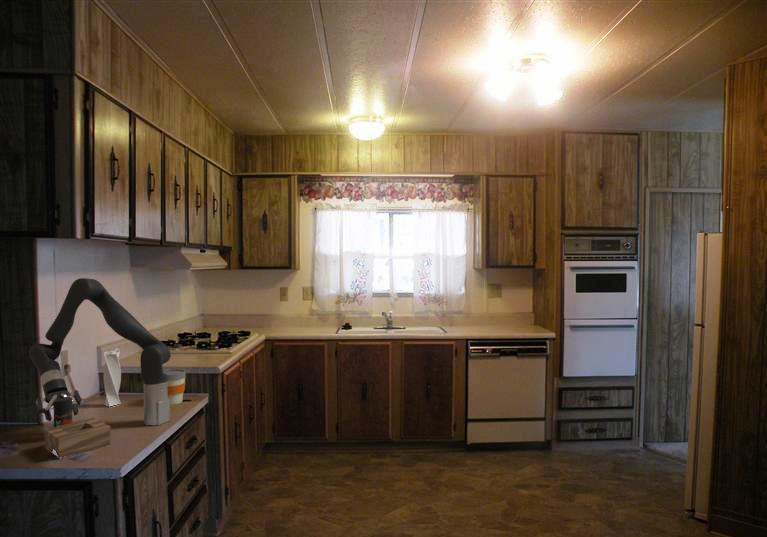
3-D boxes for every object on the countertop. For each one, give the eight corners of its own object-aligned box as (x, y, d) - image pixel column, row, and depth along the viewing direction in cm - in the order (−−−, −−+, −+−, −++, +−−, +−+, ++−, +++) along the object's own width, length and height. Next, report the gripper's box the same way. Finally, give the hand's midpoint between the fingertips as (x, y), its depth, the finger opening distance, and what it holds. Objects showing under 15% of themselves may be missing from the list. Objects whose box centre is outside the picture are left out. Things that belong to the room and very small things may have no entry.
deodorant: (51, 441, 169) (51, 402, 170) (56, 435, 175) (56, 398, 175) (70, 438, 172) (70, 400, 172) (74, 433, 177) (73, 396, 177)
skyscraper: (125, 404, 217) (124, 347, 217) (109, 408, 210) (108, 350, 210) (116, 402, 221) (115, 346, 221) (100, 406, 214) (99, 348, 214)
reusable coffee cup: (167, 407, 210) (167, 376, 211) (153, 403, 217) (152, 373, 217) (191, 400, 221) (191, 370, 221) (176, 397, 228) (176, 368, 228)
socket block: (110, 444, 165) (109, 426, 165) (59, 459, 152) (58, 439, 152) (93, 435, 175) (93, 417, 175) (44, 448, 162) (44, 429, 162)
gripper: (34, 381, 173) (43, 416, 166) (76, 374, 184) (86, 406, 177) (30, 393, 177) (39, 427, 169) (71, 385, 188) (81, 417, 181)
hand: (63, 417), depth 173 cm, fingers open, 8 cm apart
